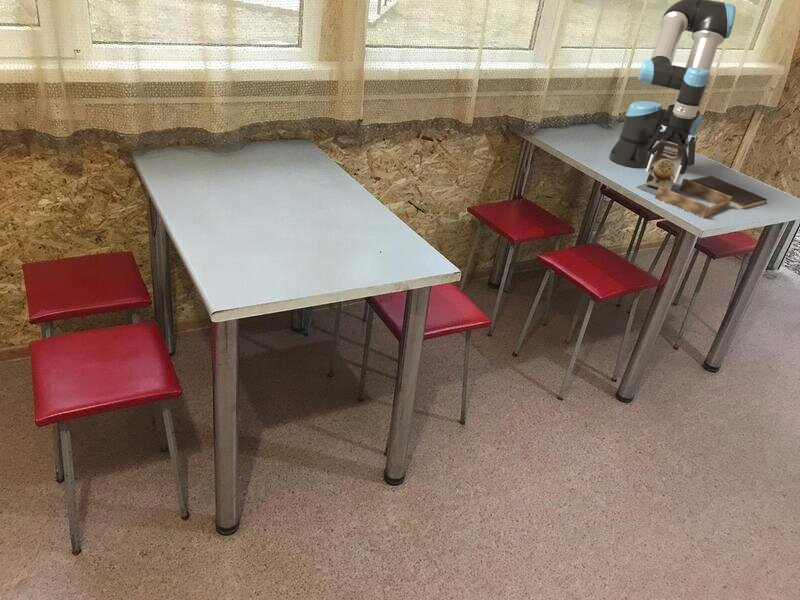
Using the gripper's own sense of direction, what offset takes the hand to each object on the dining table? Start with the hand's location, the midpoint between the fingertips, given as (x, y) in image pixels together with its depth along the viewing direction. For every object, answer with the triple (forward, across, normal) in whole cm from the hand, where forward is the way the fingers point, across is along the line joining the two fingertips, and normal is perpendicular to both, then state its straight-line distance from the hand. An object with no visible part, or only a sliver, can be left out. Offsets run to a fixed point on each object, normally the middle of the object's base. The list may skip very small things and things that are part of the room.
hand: (662, 176), depth 235 cm
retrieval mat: (+5, 0, 0) cm, 5 cm away
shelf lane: (+5, +13, 0) cm, 14 cm away
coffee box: (+4, 0, 0) cm, 4 cm away
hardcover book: (+6, +16, +22) cm, 27 cm away
